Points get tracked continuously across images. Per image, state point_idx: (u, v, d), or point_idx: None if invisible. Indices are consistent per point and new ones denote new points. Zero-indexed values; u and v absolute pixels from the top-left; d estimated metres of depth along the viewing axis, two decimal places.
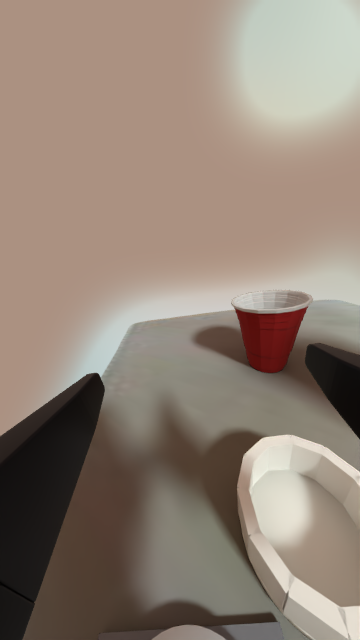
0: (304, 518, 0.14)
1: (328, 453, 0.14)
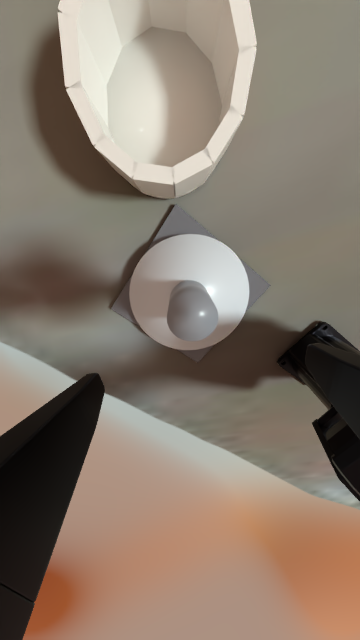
0: (161, 104, 0.12)
1: None
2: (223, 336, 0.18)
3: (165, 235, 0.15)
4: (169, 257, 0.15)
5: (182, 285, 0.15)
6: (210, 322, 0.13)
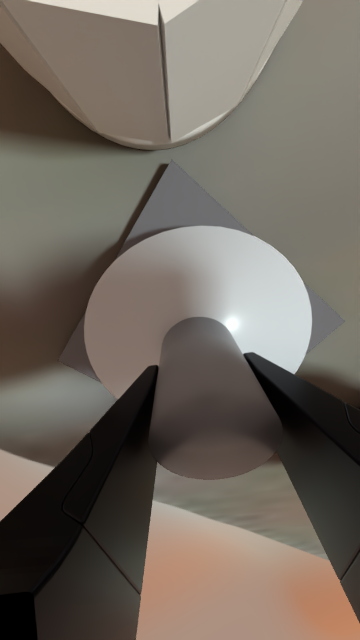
0: None
1: None
2: None
3: (150, 229, 0.08)
4: (159, 274, 0.07)
5: (186, 335, 0.07)
6: (259, 447, 0.05)
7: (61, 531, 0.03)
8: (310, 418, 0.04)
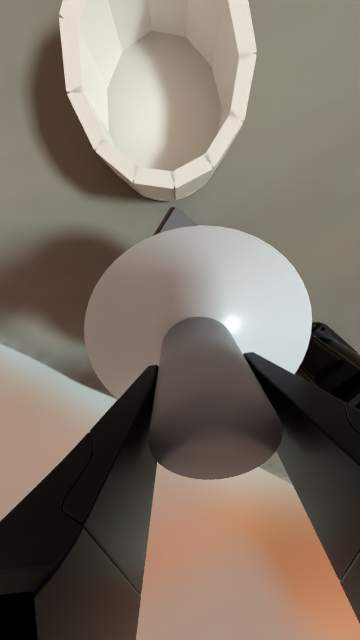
0: (161, 107, 0.12)
1: None
2: None
3: None
4: (159, 274, 0.07)
5: (186, 335, 0.07)
6: (259, 447, 0.05)
7: (62, 531, 0.03)
8: (310, 418, 0.04)
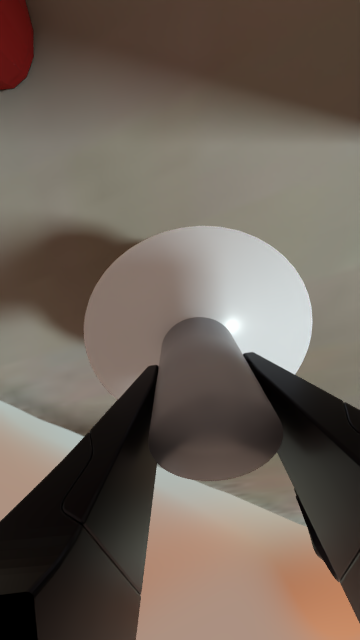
0: None
1: None
2: None
3: None
4: (159, 274, 0.07)
5: (186, 335, 0.07)
6: (259, 448, 0.05)
7: (61, 531, 0.03)
8: (310, 418, 0.04)
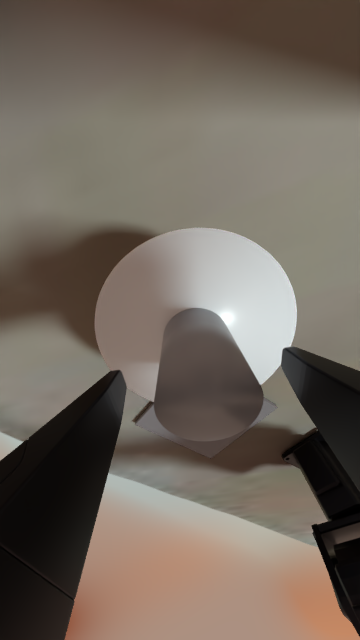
0: None
1: None
2: None
3: None
4: (161, 270, 0.09)
5: (185, 322, 0.08)
6: (245, 411, 0.06)
7: None
8: None
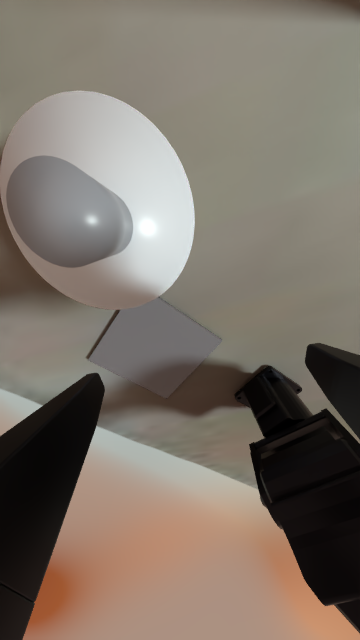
0: None
1: None
2: (164, 287, 0.13)
3: None
4: (54, 140, 0.09)
5: None
6: (96, 226, 0.07)
7: None
8: None
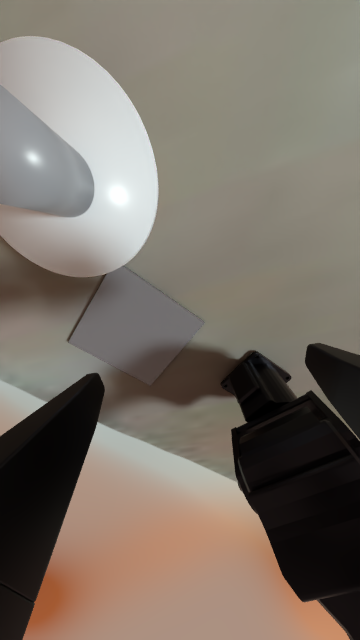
0: None
1: None
2: (131, 252, 0.12)
3: (108, 284, 0.18)
4: (8, 91, 0.09)
5: None
6: (29, 156, 0.07)
7: None
8: None
